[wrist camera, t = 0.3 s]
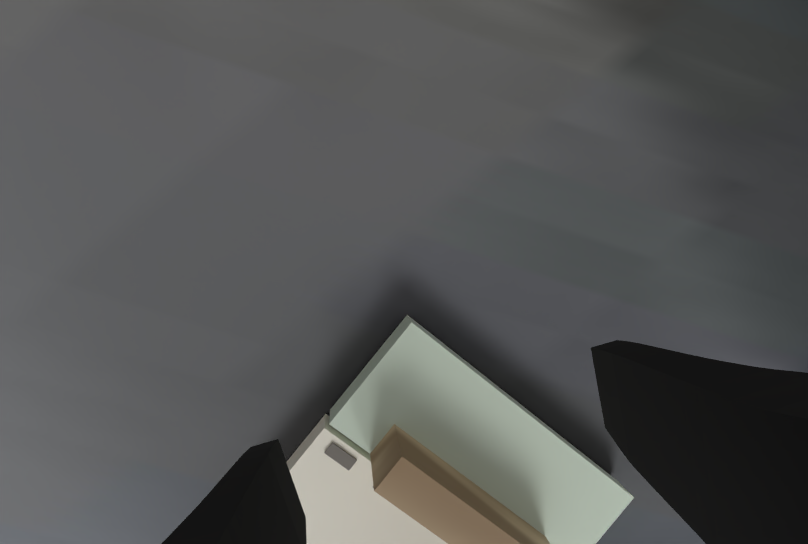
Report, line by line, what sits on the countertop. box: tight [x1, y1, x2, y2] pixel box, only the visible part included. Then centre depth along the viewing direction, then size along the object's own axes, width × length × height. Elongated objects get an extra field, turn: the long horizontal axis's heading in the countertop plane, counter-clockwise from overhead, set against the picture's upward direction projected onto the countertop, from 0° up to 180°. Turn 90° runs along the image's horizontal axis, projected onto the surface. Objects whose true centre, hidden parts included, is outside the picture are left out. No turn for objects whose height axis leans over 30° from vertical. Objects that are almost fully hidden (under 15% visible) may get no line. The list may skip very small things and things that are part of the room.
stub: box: [329, 315, 634, 544], centre depth 21 cm, size 5×12×4 cm, turn 51°
